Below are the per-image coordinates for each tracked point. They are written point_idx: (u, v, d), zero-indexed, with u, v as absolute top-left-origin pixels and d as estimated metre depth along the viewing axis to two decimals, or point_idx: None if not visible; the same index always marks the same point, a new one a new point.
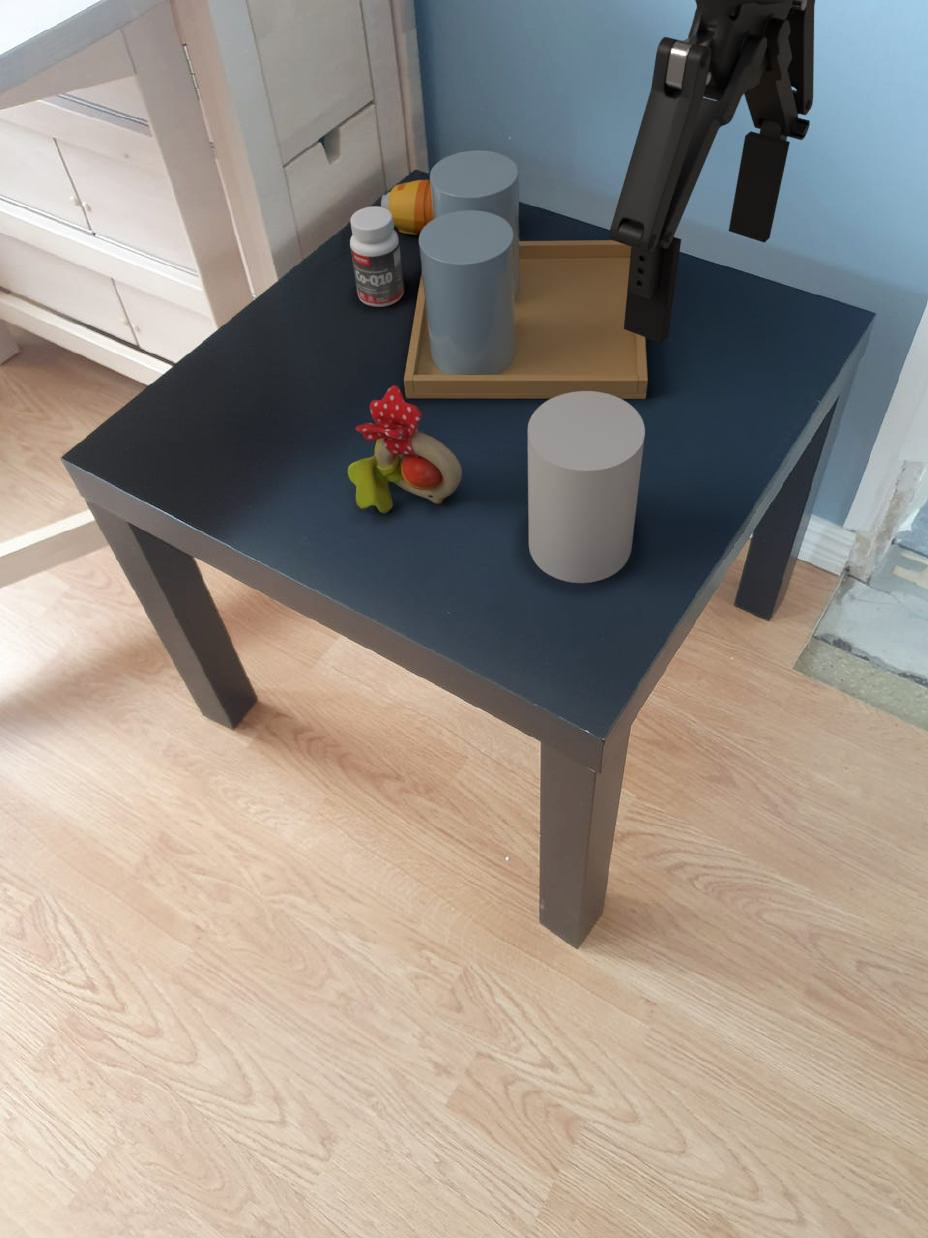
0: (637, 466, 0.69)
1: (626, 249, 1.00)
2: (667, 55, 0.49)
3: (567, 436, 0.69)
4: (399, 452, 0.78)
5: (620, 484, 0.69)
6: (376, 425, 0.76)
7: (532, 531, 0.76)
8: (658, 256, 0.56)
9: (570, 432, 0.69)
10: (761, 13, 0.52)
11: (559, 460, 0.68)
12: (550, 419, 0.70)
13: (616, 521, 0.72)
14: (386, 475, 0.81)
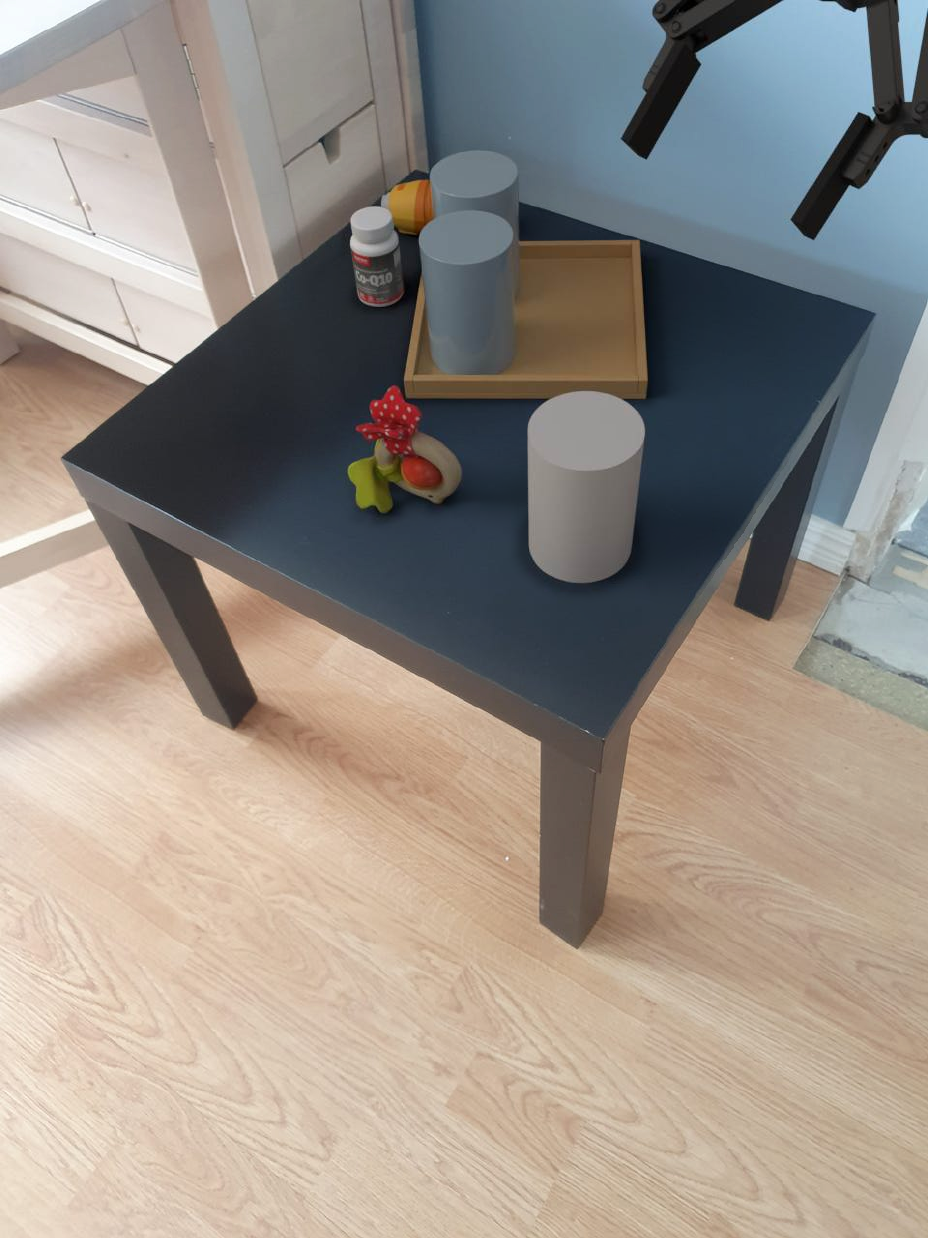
0: (637, 466, 0.69)
1: (626, 249, 1.00)
2: None
3: (567, 436, 0.69)
4: (399, 452, 0.78)
5: (620, 484, 0.69)
6: (376, 425, 0.76)
7: (532, 531, 0.76)
8: (667, 51, 0.64)
9: (570, 432, 0.69)
10: None
11: (559, 460, 0.68)
12: (550, 419, 0.70)
13: (616, 521, 0.72)
14: (386, 475, 0.81)
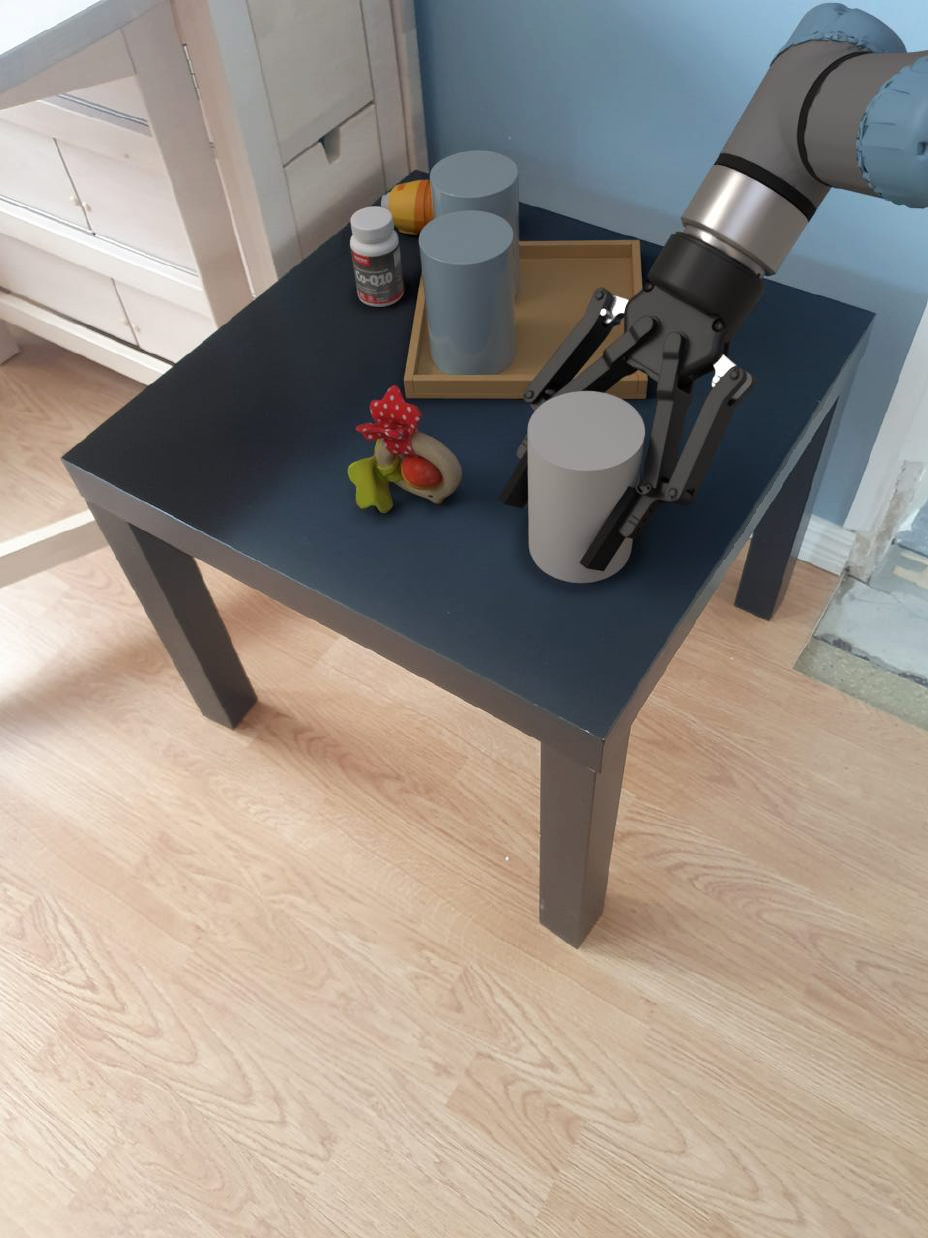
0: (637, 466, 0.69)
1: (626, 249, 1.00)
2: None
3: (567, 436, 0.69)
4: (399, 452, 0.78)
5: (620, 484, 0.69)
6: (376, 425, 0.76)
7: (532, 531, 0.76)
8: None
9: (570, 432, 0.69)
10: (672, 319, 0.69)
11: (559, 460, 0.68)
12: (550, 419, 0.70)
13: None
14: (386, 475, 0.81)
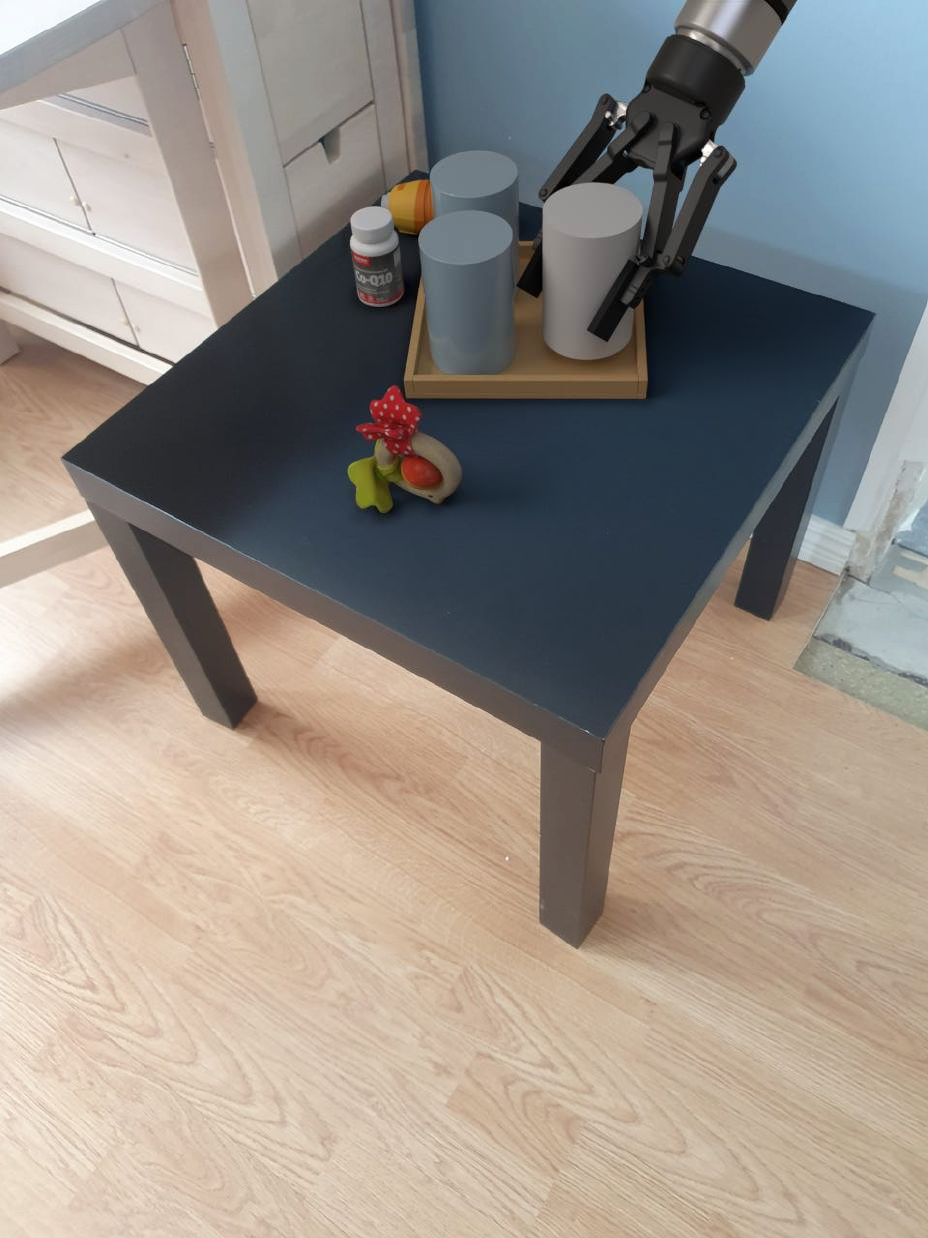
0: (636, 241, 0.81)
1: None
2: None
3: (577, 214, 0.81)
4: (399, 452, 0.78)
5: (621, 254, 0.81)
6: (376, 425, 0.76)
7: (546, 313, 0.88)
8: None
9: (579, 211, 0.81)
10: (666, 113, 0.80)
11: (569, 230, 0.80)
12: (562, 202, 0.82)
13: None
14: (386, 475, 0.81)
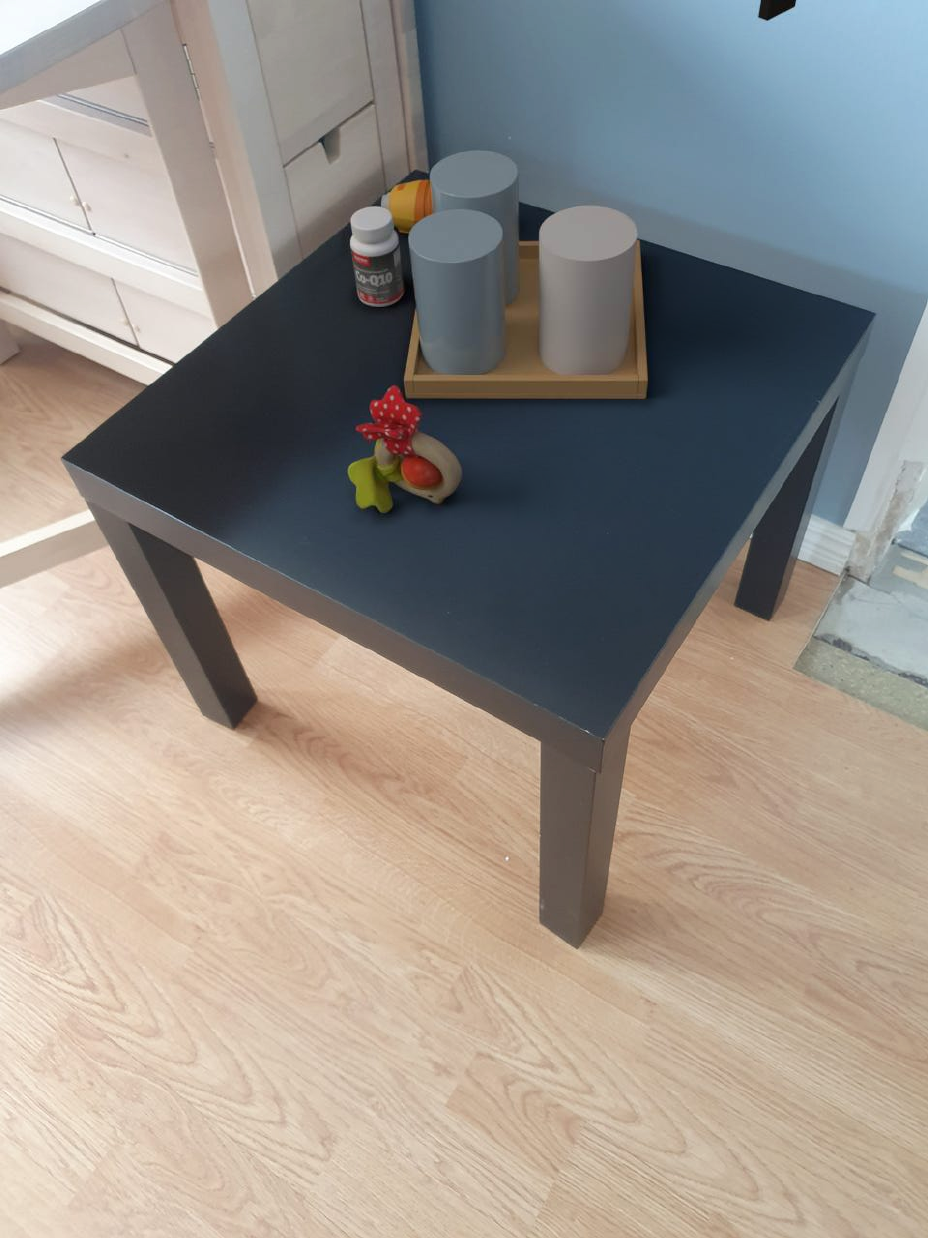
0: (631, 263, 0.83)
1: None
2: None
3: (573, 237, 0.82)
4: (399, 452, 0.78)
5: (616, 276, 0.82)
6: (376, 425, 0.76)
7: (542, 333, 0.89)
8: None
9: (575, 234, 0.83)
10: None
11: (566, 253, 0.81)
12: (558, 225, 0.84)
13: (613, 315, 0.85)
14: (386, 475, 0.81)
